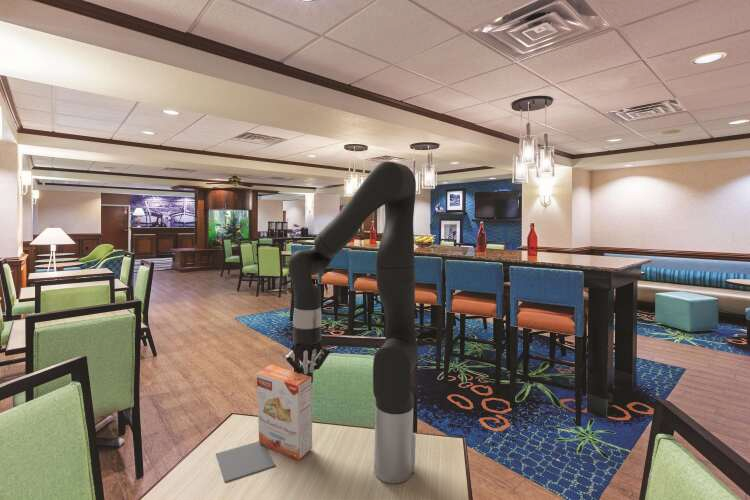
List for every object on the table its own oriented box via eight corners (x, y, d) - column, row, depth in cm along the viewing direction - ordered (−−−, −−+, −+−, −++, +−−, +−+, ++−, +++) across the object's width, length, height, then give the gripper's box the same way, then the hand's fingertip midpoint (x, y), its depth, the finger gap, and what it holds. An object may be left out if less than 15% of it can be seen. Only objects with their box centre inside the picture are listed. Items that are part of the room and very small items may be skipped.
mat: (262, 441, 107) (262, 440, 107) (275, 466, 97) (275, 465, 97) (215, 454, 101) (215, 453, 101) (224, 482, 91) (224, 481, 91)
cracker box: (257, 444, 105) (255, 372, 102) (273, 432, 110) (271, 363, 107) (298, 462, 98) (297, 385, 95) (313, 448, 104) (312, 375, 101)
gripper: (288, 330, 98) (288, 396, 99) (335, 323, 104) (335, 385, 106) (279, 323, 104) (279, 385, 106) (324, 317, 111) (323, 375, 113)
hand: (307, 385), depth 106 cm, fingers closed
